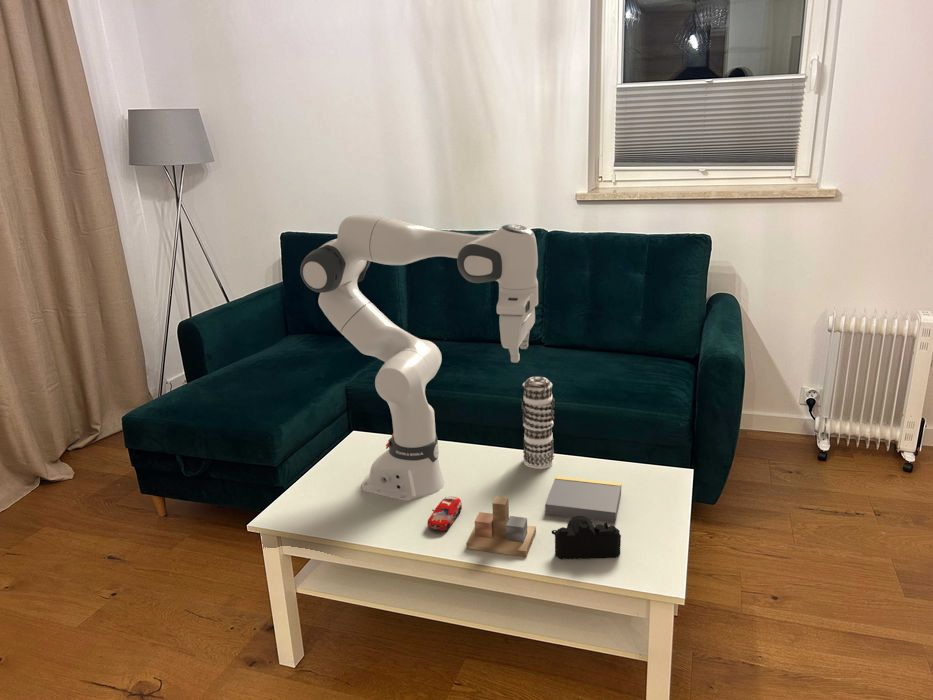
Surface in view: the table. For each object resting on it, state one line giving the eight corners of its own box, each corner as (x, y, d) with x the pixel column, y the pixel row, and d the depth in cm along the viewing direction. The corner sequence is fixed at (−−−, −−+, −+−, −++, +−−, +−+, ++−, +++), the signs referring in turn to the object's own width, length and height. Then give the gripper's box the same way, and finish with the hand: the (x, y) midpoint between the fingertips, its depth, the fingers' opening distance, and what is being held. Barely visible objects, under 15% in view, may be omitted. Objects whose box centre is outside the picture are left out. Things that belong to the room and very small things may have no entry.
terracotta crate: (475, 536, 166) (474, 521, 165) (479, 526, 170) (479, 511, 169) (491, 538, 165) (491, 523, 164) (496, 528, 169) (495, 514, 168)
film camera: (614, 537, 168) (615, 503, 165) (622, 562, 159) (623, 527, 156) (549, 538, 168) (549, 505, 165) (553, 564, 159) (553, 529, 156)
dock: (545, 514, 178) (545, 503, 177) (555, 486, 190) (555, 475, 189) (615, 523, 173) (615, 512, 172) (621, 493, 185) (621, 483, 184)
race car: (445, 535, 170) (444, 520, 169) (424, 531, 172) (423, 516, 171) (465, 508, 182) (465, 494, 181) (445, 504, 184) (445, 490, 182)
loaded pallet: (466, 552, 165) (464, 508, 161) (478, 528, 174) (477, 486, 170) (526, 560, 161) (525, 516, 157) (535, 535, 170) (535, 492, 166)
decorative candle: (551, 471, 198) (550, 387, 190) (518, 467, 201) (516, 384, 193) (558, 456, 206) (558, 374, 198) (526, 452, 209) (525, 372, 201)
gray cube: (506, 540, 164) (505, 525, 163) (510, 530, 168) (510, 515, 167) (523, 542, 163) (523, 527, 162) (527, 532, 167) (527, 517, 165)
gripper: (515, 285, 174) (516, 339, 178) (494, 308, 155) (496, 368, 160) (541, 286, 172) (541, 341, 177) (523, 310, 154) (524, 370, 158)
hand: (519, 354), depth 168 cm, fingers open, 8 cm apart
